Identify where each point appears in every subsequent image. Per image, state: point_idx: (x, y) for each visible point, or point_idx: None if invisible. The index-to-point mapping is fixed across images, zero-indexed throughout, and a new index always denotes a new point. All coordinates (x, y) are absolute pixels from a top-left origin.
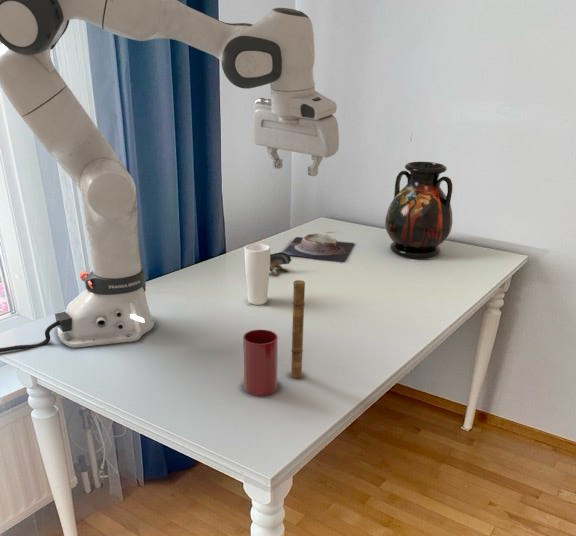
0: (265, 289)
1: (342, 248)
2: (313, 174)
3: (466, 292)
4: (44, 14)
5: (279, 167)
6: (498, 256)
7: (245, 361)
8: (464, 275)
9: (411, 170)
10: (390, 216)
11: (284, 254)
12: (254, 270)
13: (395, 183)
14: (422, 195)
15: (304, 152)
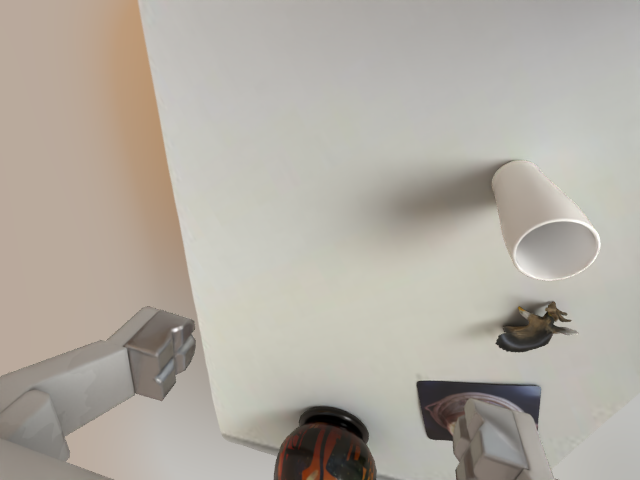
0: (497, 189)
1: (438, 421)
2: (139, 312)
3: (217, 331)
4: None
5: (466, 415)
6: (241, 427)
7: None
8: (245, 375)
9: None
10: (358, 475)
11: (514, 349)
12: (536, 192)
13: None
14: None
15: (30, 467)
